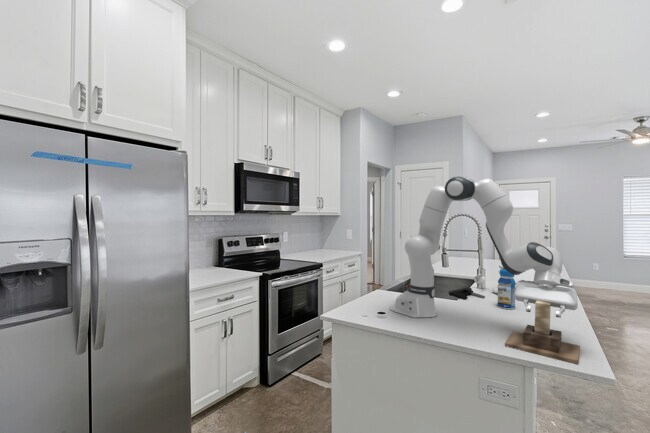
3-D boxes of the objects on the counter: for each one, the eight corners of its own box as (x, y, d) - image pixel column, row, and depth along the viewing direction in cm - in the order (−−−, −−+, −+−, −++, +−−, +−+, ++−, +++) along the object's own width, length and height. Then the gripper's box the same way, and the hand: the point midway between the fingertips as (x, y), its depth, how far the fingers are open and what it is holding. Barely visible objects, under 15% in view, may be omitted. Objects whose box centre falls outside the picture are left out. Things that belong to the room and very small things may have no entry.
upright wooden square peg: (534, 339, 123) (535, 302, 122) (535, 336, 125) (536, 300, 125) (548, 342, 120) (549, 304, 119) (549, 339, 123) (550, 302, 122)
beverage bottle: (518, 310, 168) (519, 271, 167) (502, 309, 168) (503, 271, 167) (509, 305, 176) (510, 268, 176) (493, 305, 176) (494, 268, 176)
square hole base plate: (504, 346, 124) (505, 330, 123) (513, 333, 136) (513, 319, 136) (578, 364, 109) (578, 346, 109) (579, 348, 122) (580, 333, 122)
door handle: (490, 293, 193) (466, 285, 206) (470, 298, 182) (446, 289, 196) (490, 298, 193) (466, 291, 207) (469, 303, 182) (445, 295, 196)
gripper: (515, 274, 134) (510, 303, 127) (578, 282, 121) (576, 315, 114) (517, 283, 137) (512, 312, 130) (578, 292, 124) (576, 324, 117)
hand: (542, 313), depth 122 cm, fingers open, 8 cm apart
